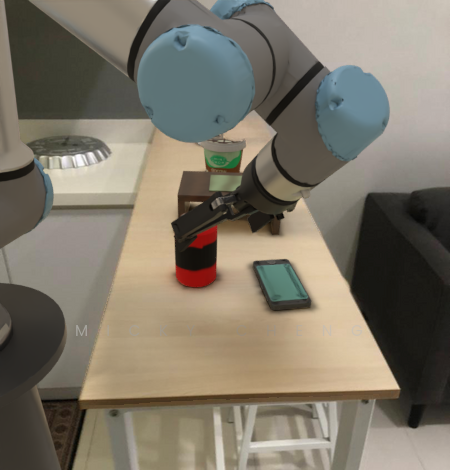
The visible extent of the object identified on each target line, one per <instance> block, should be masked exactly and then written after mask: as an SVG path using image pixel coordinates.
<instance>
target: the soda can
mask: <svg viewBox="0 0 450 470" xmlns="http://www.w3.org/2000/svg"><path fill="white" fill-rule="evenodd" d="M186 213H187V212H186ZM186 213H184V214H186ZM184 214H182V215H184ZM182 215H181V216H182ZM218 225H219V224H218ZM218 225H216V226H214V227H212V228H210V229H208V230H206V231H204V232H202V233H200V234H198V235H197V238H196V239H195V240H194V241H193V243H192V244H191V245H190V246H189V247H188V248H187V249H186V250H185V251H183V252H179V250H178V247H177V244H176V241H175V239H174V238H173V239H174V264H175V265H174V266H175V278H176V280H177V281H178V282H179V283H180V284H181V285H183V286H185V287H189V288H202V287H207V286H209V285H210V284H212V283H213V282H214V281H215V280H216V278H217V267H218V266H217V265H218V263H217V262H218ZM174 235H175V234H174V233H173V236H174Z"/></svg>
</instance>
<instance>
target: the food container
mask: <svg viewBox="0 0 450 470" xmlns="http://www.w3.org/2000/svg"><path fill="white" fill-rule="evenodd" d="M245 139H246V138H243V139H242V140H230V139H226V138H223V139H220V140H206V141H203V142H201V145H200V146H201V147H202V148H203V155H204V164H205V172H231V173H241V166H242V161H243V160H242V159H243V153H244V149H246V147H247V141H246V140H245Z"/></svg>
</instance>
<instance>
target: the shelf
mask: <svg viewBox="0 0 450 470" xmlns="http://www.w3.org/2000/svg"><path fill="white" fill-rule="evenodd" d="M181 174H182V175H181V178H180V183H179V187H178V191H177V219H178V218H179V217H180V216H181V215H182V214H184V213H186V212H189V211H190V207H191V203H203V202H204V201H206V200H207V199H209V198H210V197H211V196H212V195H213V194H214V193H215V192H219V191H221V192H222V195H223V196H224V195H226V194H228V193H230V192H232V191H234V190H236V188H237V187H238V186H240V184H241V178H242V174H243V172H240V173H231V172H206V171H197V170H183V171H182V173H181ZM274 217H275V218H274V219H273V220H271V221H270V222H269V223H270V229H271V235H272V236H273V235H276V236H279V235H280V228H281V221H282V220H279V221H277V218H276V216H274Z"/></svg>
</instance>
